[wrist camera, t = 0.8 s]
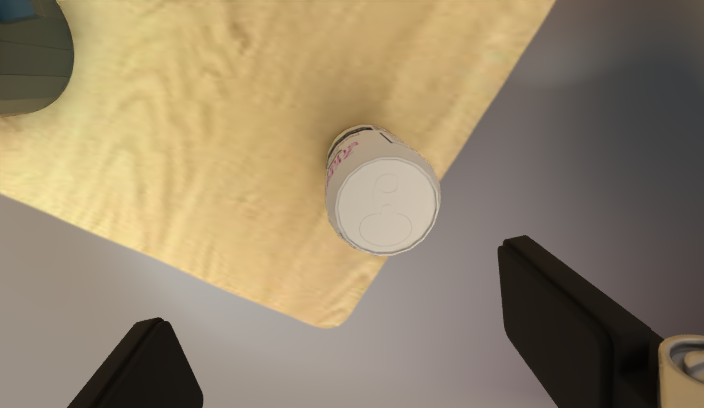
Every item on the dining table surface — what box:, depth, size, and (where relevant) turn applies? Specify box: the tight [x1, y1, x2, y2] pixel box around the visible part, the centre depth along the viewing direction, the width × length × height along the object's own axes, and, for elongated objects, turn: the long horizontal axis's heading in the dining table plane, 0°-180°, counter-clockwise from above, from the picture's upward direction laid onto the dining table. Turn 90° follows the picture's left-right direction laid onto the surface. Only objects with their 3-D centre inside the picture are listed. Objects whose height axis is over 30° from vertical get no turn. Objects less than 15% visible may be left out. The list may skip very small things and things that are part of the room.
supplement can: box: [325, 125, 441, 256], centre depth 31 cm, size 8×8×15 cm
